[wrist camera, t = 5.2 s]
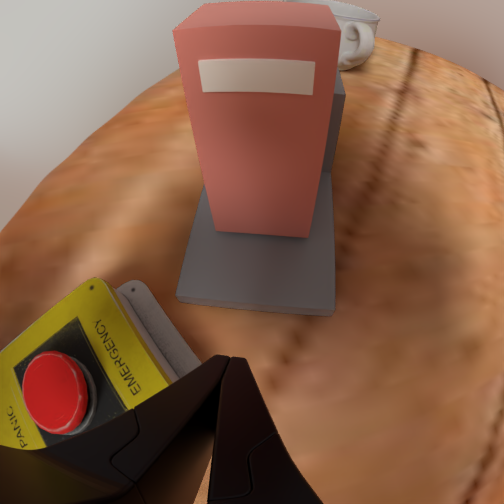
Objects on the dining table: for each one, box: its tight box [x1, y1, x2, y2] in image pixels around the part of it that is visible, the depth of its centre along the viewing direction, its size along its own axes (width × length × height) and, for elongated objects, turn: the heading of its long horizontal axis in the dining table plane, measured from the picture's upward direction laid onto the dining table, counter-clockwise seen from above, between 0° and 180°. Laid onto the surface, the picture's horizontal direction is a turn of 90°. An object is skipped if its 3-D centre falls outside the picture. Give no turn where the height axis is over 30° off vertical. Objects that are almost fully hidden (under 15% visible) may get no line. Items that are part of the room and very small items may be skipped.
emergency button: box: [0, 277, 202, 450], centre depth 11 cm, size 9×4×15 cm
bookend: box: [175, 67, 346, 316], centre depth 16 cm, size 13×8×7 cm, turn 173°
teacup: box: [283, 0, 380, 71], centre depth 26 cm, size 14×11×8 cm
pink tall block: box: [173, 1, 341, 238], centre depth 13 cm, size 4×5×11 cm
